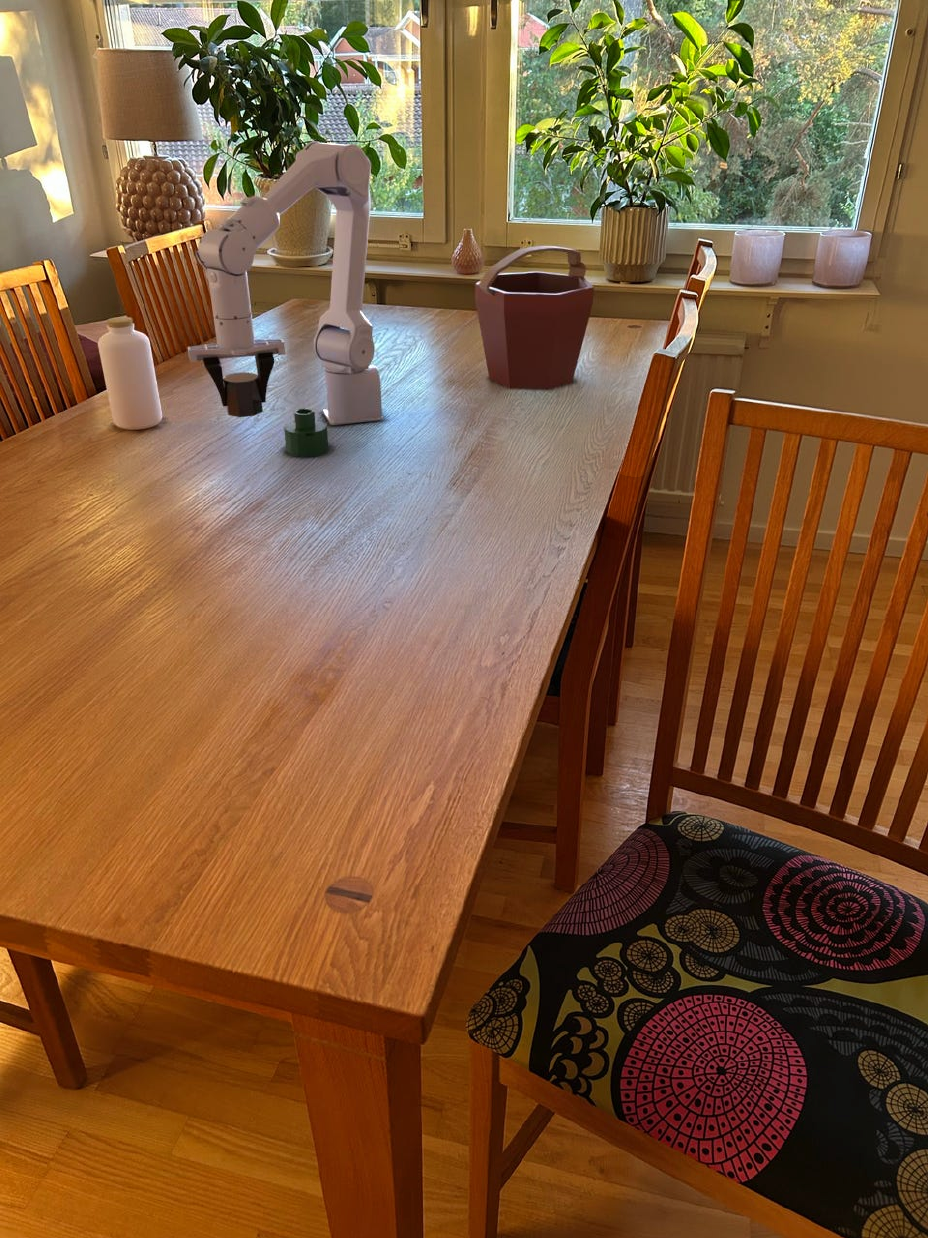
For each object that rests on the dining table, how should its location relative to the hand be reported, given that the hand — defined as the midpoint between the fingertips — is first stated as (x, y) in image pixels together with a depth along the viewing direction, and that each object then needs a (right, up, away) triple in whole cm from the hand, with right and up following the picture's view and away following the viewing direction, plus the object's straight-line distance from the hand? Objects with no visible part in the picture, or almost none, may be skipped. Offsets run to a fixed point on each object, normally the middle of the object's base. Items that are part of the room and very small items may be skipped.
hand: (243, 402), depth 148 cm
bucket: (+49, +14, +41) cm, 65 cm away
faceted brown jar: (0, -1, +1) cm, 1 cm away
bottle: (+9, -7, +5) cm, 13 cm away
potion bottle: (-22, 0, +16) cm, 28 cm away
